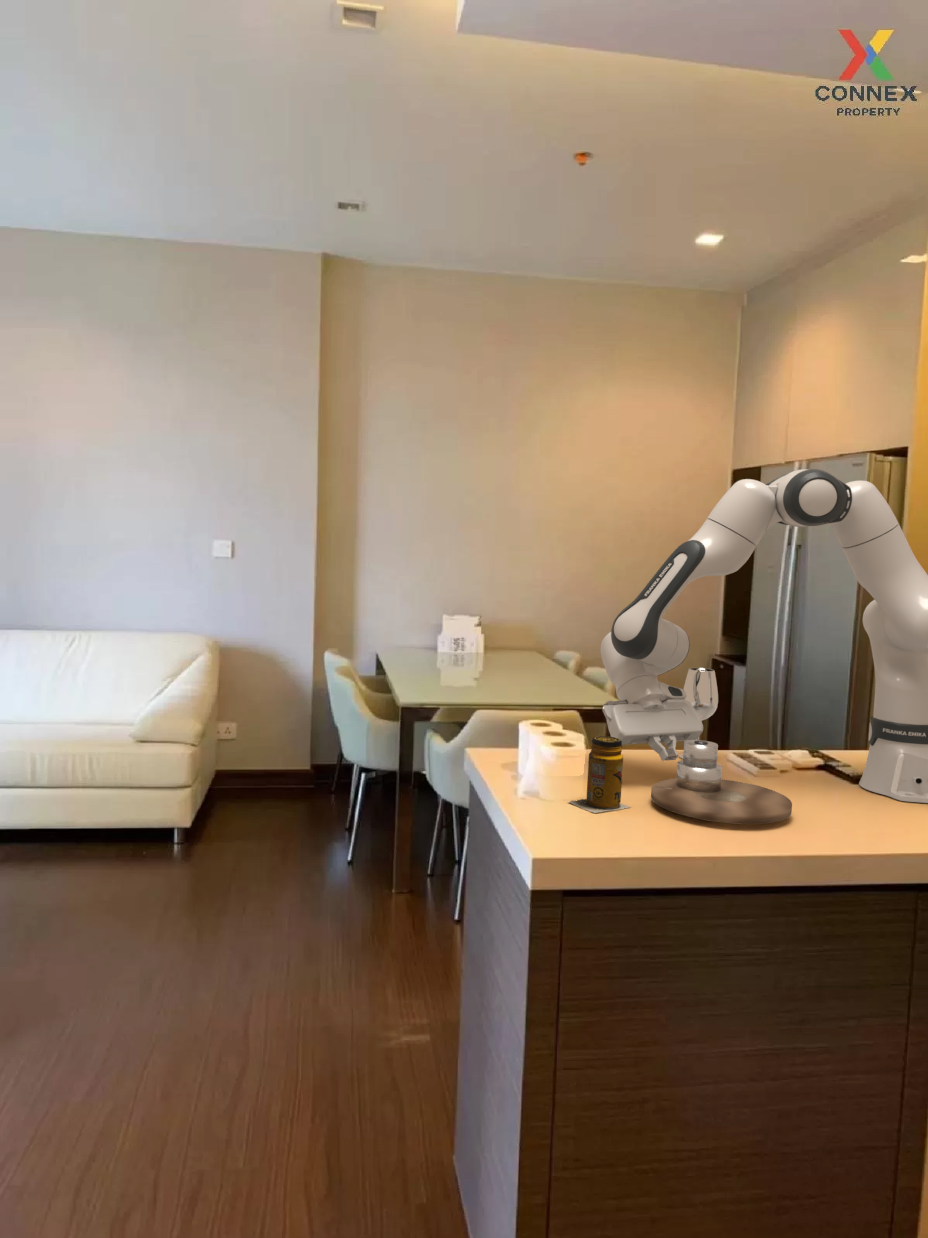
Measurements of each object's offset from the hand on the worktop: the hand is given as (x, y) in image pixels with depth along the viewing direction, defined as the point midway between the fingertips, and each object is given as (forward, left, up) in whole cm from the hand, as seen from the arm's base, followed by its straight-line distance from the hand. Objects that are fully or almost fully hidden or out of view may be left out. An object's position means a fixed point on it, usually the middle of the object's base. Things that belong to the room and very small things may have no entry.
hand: (670, 758), depth 169 cm
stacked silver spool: (-6, +6, -3) cm, 9 cm away
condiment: (+10, +18, -6) cm, 22 cm away
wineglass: (-2, -30, -6) cm, 31 cm away
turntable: (-10, +10, -5) cm, 15 cm away
